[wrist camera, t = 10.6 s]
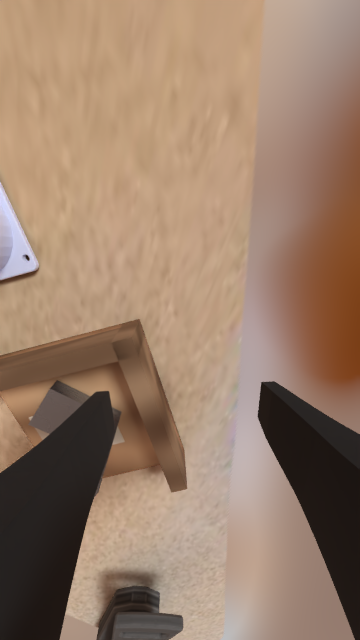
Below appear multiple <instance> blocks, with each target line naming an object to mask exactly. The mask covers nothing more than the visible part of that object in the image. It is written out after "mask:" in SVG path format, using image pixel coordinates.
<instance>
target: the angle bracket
mask: <svg viewBox="0 0 360 640" xmlns="http://www.w3.org/2000/svg"><path fill="white" fill-rule="evenodd" d="M90 397H91V396H89V395H86V394H84V393H82V392H80V391H78V390H76V389H74V388H72V387H70V386H68V385H66V384H64V383H62V382H60V381H58V380H57V381H56V382H55V383H54V384H53V386H52V387H51V388H50V389H49V391H48V393H47V394H46V396H45V398H44V399H43V401H42V403H41V404H40V406H39V408H38V409H37V411H36V413H35V414H34V416H33V418H32V419H31V421H30V422H29V424H28V425H30V426H32V427H35V428H37V429H39V430H42V431H44V432H46V433H49V434H50V433H52V432H53V431H54V430H55V429H56V428H57V427H59V426H60V425H61V424H62V423H63V422H64V421H65V420H66V419H67V418H68V417H69V416H71V415H72V414H73V413H74V412H75V411H76V410H77V409H78V408H79V407H80V406H81V405H82V404H83V403H84V402H85V401H86V400H87V399H88V398H90ZM112 411H113V417H114V423H115V428H114V433H113V438H112V442H111V447H112V444H113V440H114V437H115V433H116V430H117V426H118V423H119V420H120V416H121V413H122V412H121V411H119V410H117V409H115V408H113V407H112ZM111 447H110V450H111ZM109 454H110V451H109ZM109 454H108V457H109ZM108 457H107V460H106V463H105V466H104V469H103V472H102V475H101V478H100V481H99V484H98V487H97V490H96V493H95V496H96V494H97V493H98V491H99V488H100V485H101V481H102V478H103V474H104V471H105V468H106V464H107V461H108ZM95 496H94V497H95Z"/></svg>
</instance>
